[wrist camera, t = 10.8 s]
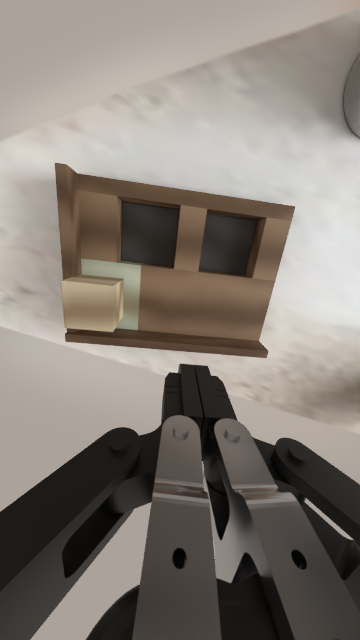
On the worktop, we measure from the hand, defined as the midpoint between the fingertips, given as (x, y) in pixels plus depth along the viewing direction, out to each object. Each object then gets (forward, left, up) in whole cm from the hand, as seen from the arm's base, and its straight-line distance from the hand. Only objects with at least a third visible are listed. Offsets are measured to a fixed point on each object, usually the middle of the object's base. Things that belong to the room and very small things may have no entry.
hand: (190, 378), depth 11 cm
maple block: (0, -9, -16) cm, 19 cm away
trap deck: (-4, 0, -19) cm, 20 cm away
